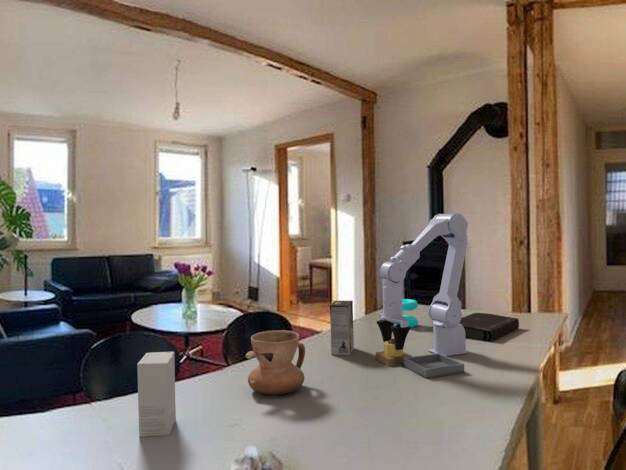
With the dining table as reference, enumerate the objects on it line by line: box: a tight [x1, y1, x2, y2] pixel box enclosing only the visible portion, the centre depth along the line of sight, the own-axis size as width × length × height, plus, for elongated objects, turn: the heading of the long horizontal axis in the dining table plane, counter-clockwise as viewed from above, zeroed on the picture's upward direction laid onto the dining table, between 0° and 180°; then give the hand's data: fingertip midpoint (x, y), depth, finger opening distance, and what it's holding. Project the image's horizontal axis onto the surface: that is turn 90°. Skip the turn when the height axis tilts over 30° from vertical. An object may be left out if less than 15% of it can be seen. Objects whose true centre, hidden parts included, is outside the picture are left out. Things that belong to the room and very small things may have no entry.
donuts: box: [394, 298, 419, 329], centre depth 198 cm, size 10×10×10 cm
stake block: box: [375, 338, 413, 367], centre depth 151 cm, size 8×8×6 cm
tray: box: [402, 353, 465, 379], centre depth 142 cm, size 12×12×2 cm
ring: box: [383, 341, 404, 357], centre depth 151 cm, size 5×5×4 cm
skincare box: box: [136, 351, 177, 438], centre depth 107 cm, size 8×7×16 cm
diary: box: [459, 312, 520, 343], centre depth 185 cm, size 19×25×5 cm
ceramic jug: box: [245, 329, 306, 396], centre depth 129 cm, size 18×14×14 cm
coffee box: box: [329, 300, 355, 356], centre depth 163 cm, size 9×6×16 cm
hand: (393, 346), depth 151 cm, fingers open, 7 cm apart
